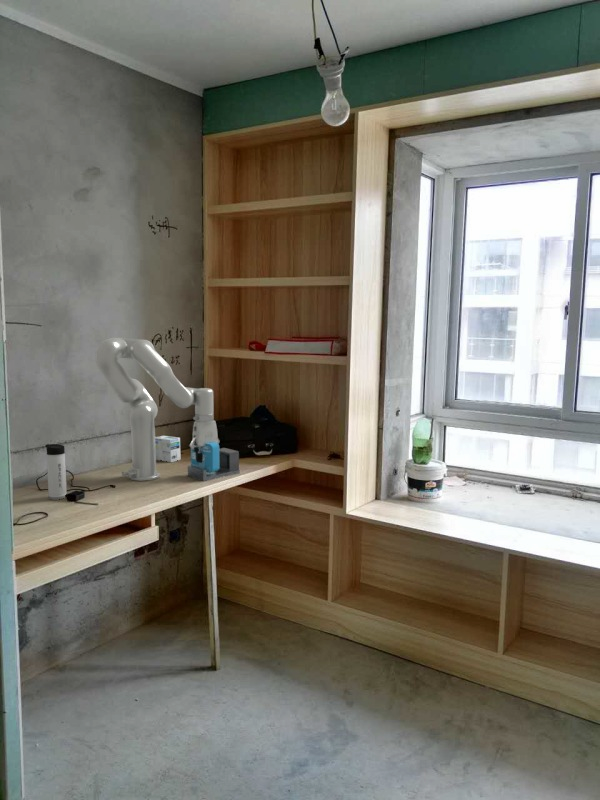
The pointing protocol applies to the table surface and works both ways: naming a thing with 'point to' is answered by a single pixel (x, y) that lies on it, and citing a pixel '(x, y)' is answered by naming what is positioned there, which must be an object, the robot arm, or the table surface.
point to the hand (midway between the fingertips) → (205, 460)
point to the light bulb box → (167, 448)
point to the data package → (207, 457)
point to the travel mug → (56, 471)
